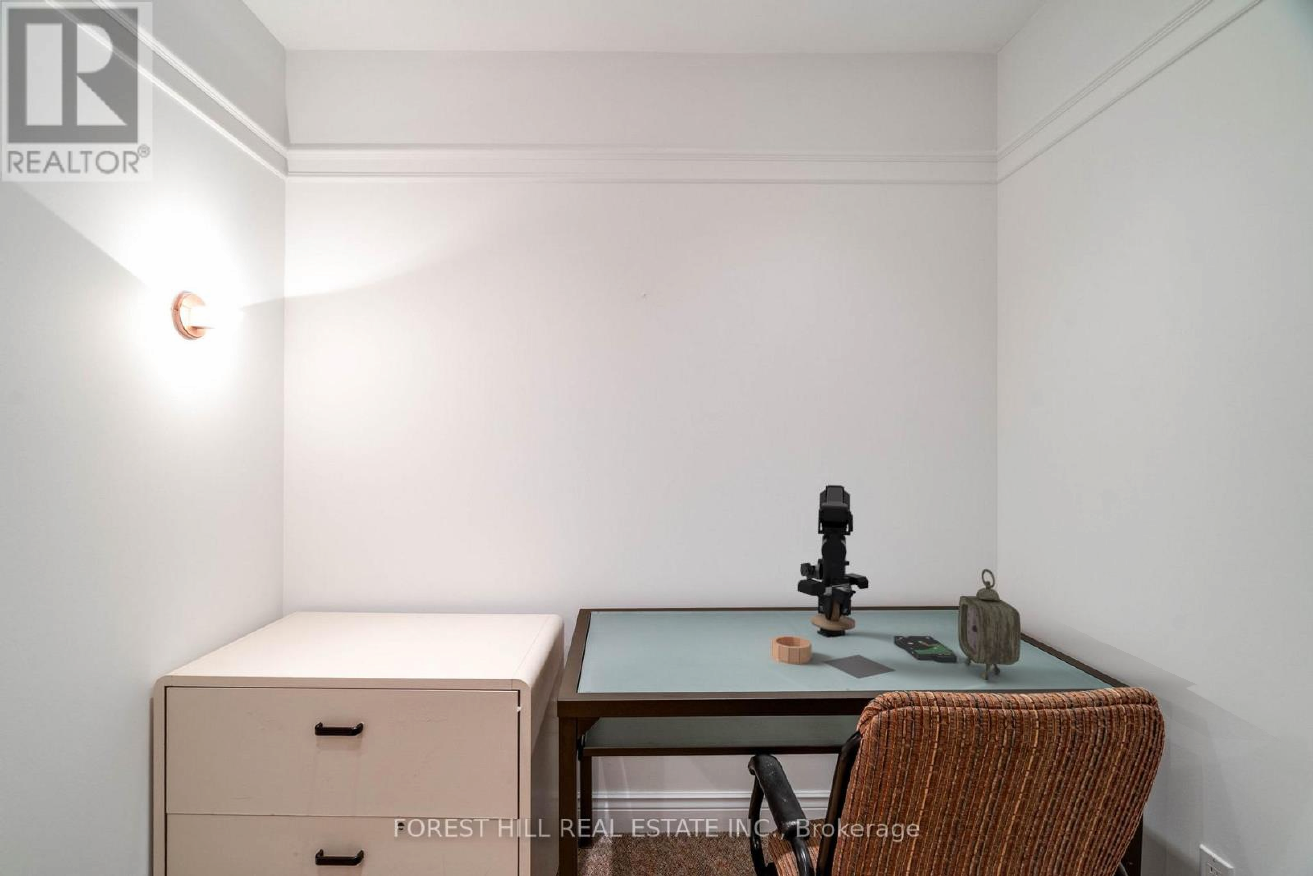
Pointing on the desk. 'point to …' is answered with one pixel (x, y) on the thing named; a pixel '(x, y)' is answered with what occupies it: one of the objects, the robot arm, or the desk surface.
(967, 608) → the tabletop clock
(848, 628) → the lid
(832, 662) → the trivet
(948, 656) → the disk drive
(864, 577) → the robot arm
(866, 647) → the desk surface
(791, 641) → the bowl
